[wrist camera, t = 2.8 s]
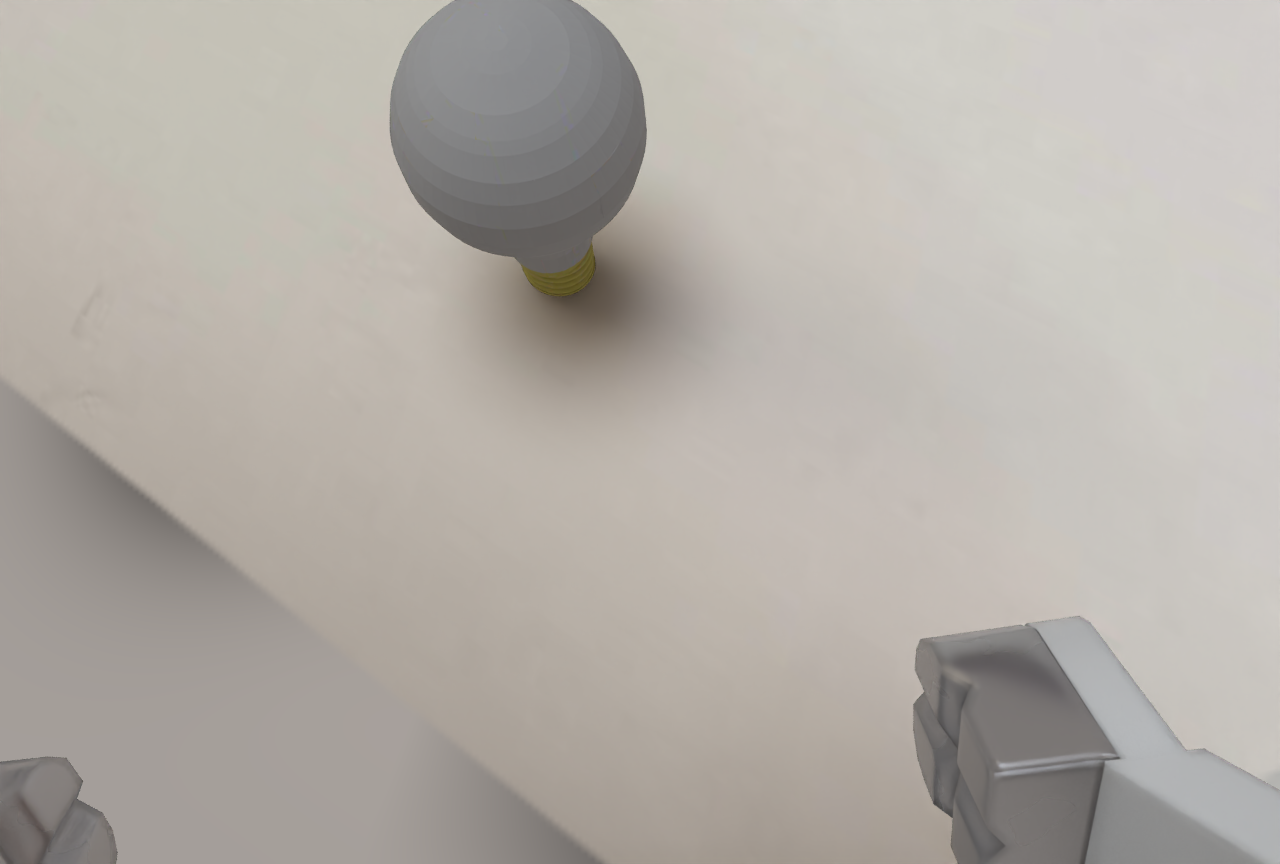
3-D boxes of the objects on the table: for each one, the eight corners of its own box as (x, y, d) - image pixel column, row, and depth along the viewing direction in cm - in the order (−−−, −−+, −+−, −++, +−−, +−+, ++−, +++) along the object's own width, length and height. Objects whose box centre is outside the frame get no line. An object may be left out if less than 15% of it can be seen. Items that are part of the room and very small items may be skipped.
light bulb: (534, 158, 28) (459, -119, 18) (688, 242, 27) (696, -4, 17) (431, 301, 27) (294, 86, 17) (588, 393, 26) (537, 221, 16)
